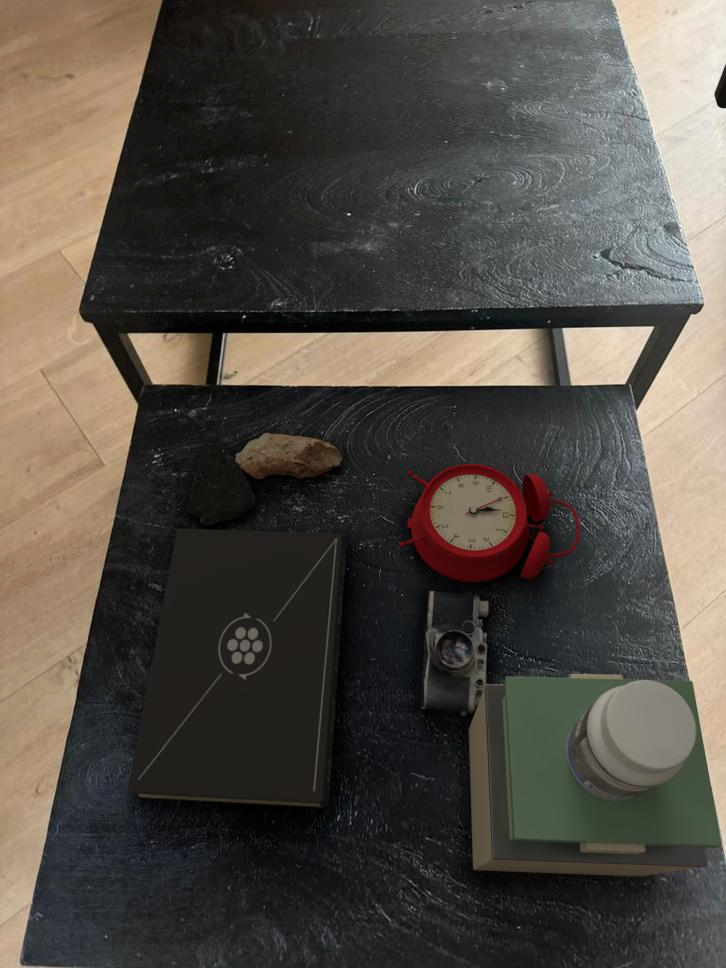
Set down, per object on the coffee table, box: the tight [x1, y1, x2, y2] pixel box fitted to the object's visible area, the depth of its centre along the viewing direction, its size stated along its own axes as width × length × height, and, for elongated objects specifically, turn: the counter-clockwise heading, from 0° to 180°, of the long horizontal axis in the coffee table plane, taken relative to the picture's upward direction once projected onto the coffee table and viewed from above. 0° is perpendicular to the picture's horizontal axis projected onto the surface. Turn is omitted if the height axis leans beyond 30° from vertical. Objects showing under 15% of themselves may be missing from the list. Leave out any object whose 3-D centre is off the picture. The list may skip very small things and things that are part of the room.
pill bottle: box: [567, 679, 696, 800], centre depth 38 cm, size 5×5×8 cm
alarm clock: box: [398, 463, 581, 583], centre depth 67 cm, size 10×6×15 cm
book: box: [126, 528, 348, 809], centre depth 62 cm, size 22×15×3 cm
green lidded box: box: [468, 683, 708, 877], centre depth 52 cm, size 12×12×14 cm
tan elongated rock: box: [234, 432, 343, 480], centre depth 72 cm, size 10×4×5 cm
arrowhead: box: [187, 430, 256, 527], centre depth 72 cm, size 6×1×10 cm
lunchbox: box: [502, 673, 722, 854], centre depth 44 cm, size 11×9×4 cm
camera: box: [420, 590, 490, 717], centre depth 61 cm, size 5×10×4 cm, turn 173°
